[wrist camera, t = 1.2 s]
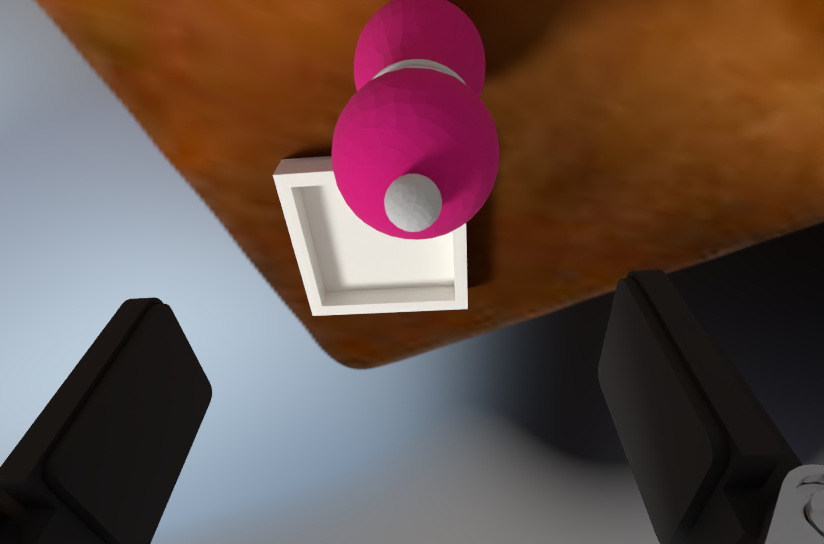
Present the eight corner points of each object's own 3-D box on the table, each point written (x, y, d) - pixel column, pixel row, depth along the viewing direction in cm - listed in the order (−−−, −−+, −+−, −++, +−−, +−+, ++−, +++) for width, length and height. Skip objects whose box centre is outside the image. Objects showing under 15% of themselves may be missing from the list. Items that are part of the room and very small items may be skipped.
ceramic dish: (462, 147, 34) (465, 162, 32) (465, 289, 41) (467, 308, 40) (281, 159, 35) (272, 174, 33) (318, 296, 42) (312, 315, 40)
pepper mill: (364, -24, 28) (277, 77, 12) (488, -10, 28) (569, 106, 12) (361, 103, 32) (295, 300, 16) (468, 113, 32) (508, 318, 16)
